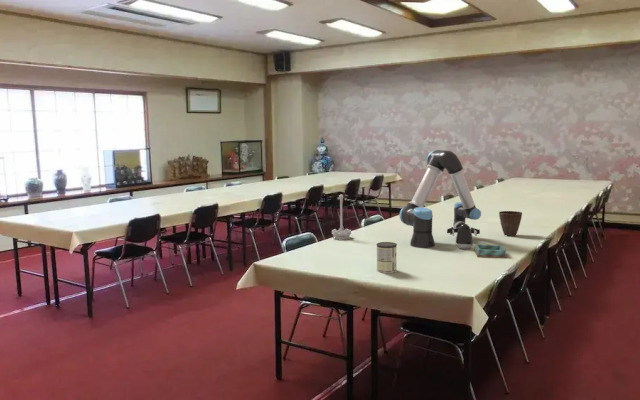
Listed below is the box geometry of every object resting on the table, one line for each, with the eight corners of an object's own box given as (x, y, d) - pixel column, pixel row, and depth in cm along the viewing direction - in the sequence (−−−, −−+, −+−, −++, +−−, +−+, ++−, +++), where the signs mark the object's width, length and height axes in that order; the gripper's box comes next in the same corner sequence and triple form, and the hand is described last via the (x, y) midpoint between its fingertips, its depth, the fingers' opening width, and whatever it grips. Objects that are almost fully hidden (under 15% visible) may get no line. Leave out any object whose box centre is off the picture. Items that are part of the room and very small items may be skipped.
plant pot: (497, 236, 363) (497, 213, 361) (499, 232, 376) (500, 210, 374) (520, 238, 357) (521, 214, 355) (522, 234, 370) (523, 211, 368)
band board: (477, 256, 304) (477, 250, 303) (474, 250, 319) (474, 244, 319) (506, 257, 301) (507, 250, 301) (501, 251, 317) (502, 244, 316)
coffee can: (375, 268, 280) (375, 242, 279) (394, 268, 281) (394, 241, 279) (378, 273, 270) (378, 246, 269) (398, 273, 271) (398, 245, 269)
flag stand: (348, 240, 355) (347, 195, 351) (329, 239, 359) (329, 195, 356) (353, 236, 367) (353, 193, 364) (335, 235, 372) (334, 193, 368)
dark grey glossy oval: (461, 250, 321) (461, 225, 319) (452, 247, 331) (452, 222, 329) (476, 249, 323) (476, 224, 322) (467, 246, 333) (467, 222, 332)
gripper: (480, 233, 351) (485, 240, 330) (441, 233, 355) (444, 239, 334) (480, 222, 350) (485, 228, 330) (441, 222, 354) (444, 227, 333)
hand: (464, 233), depth 332 cm, fingers open, 13 cm apart
